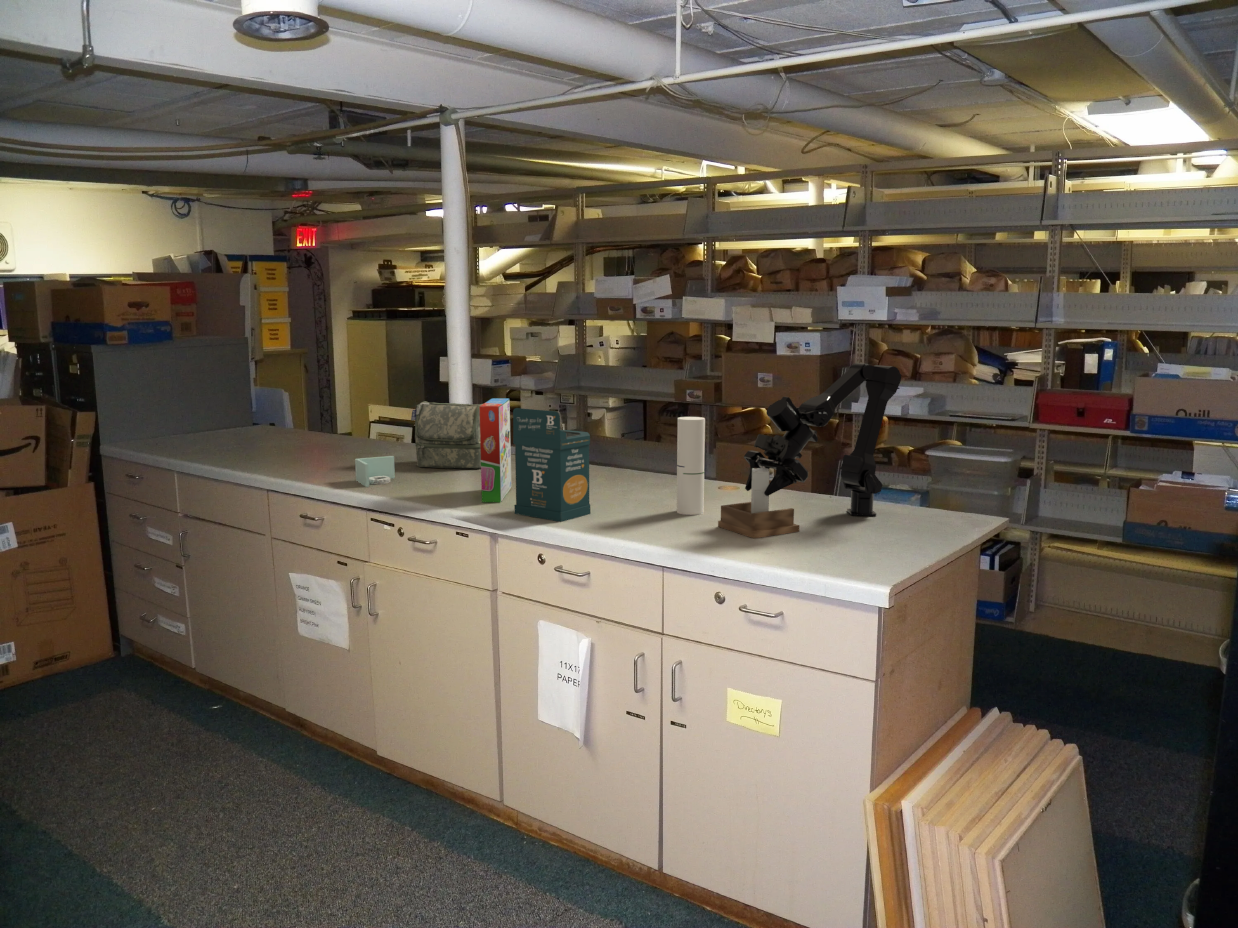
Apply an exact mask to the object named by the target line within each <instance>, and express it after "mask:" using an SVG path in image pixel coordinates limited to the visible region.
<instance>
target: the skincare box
mask: <svg viewBox="0 0 1238 928" xmlns="http://www.w3.org/2000/svg"><path fill="white" fill-rule="evenodd" d="M769 484H770V469H768V468H752V489H751V490H750V491H751V495H750V497H751V498H750V499H751V501H750V502H751V513H759V512H767V511H770V508H769V507H770V495H769V496H766V495H765V494H764V492H765V490H766V489H767V487H768V485H769Z"/></svg>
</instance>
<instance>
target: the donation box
mask: <svg viewBox="0 0 1238 928" xmlns="http://www.w3.org/2000/svg"><path fill="white" fill-rule="evenodd" d="M512 417H513V418H512V419H513V420H512V421H513V423H512V426H513V427H512V429H513V430H512V431H513V432H512V434H513V435H512V437H513V438H512V439H513V445H514V453H515V454H514V458H515V459H514V462H515V504H514V505H513V506H514V507H513V508H514V509H513V510H514V514H515V515H520V516H527V517H531V518H537V519H542V520H550V521H554V522H560V523H562V522H566V521H570V520H574V519H578V518H580V517H581V518H582V517H585V516H588V515H591V504H590V445H591V435H590V433H589V432H587V431H580V430H579V431H578V430H569V429H561V426H562V425H561V422H562V421H561V419H562V418H561V417H562V416H561V414H560V412H559V411H556V410H554V411H553V410H544V409H534V408H533V409H532V408H523V407H516V408H514V409H513V410H512Z"/></svg>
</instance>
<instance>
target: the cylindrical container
mask: <svg viewBox="0 0 1238 928" xmlns="http://www.w3.org/2000/svg"><path fill="white" fill-rule="evenodd" d="M676 432H677V439H676V441H677V443H676V444H677V445H676V446H677V447H676V449H677V451H676V453H677V454H676V459H677V460H676V513H677V514H680V515H684V516H695V515H696V516H697V515H701V514H702V515H703V514H704V513H705V512H704V510H705V507H704V506H705V499H704V498H705V454H706V453H705V451H706V450H705V449H706V448H705V442H706V441H705V439H706V418H705V417H701V416H680V417H677V431H676Z"/></svg>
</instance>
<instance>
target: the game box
mask: <svg viewBox="0 0 1238 928" xmlns="http://www.w3.org/2000/svg"><path fill="white" fill-rule="evenodd" d="M481 404H482V405H481V406H480V447H481V468H480V474H481V475H480V476H481V478H480V479H481V480H480V481H481V484H480V485H481V503H492V504H493V503H497V504H498V503H501V502H502V501H503V500H504V498H505V497H506V496H507V494H508V493H509V491H510V490H511V488H512V457H511V456H512V454H511V453H512V451H511V450H512V448H511V446H512V445H511V411H510V410H511V408H510V398H496V397H495V398H493V397H492V398H490V399H489V400H487V401H486V402H484V403H481Z"/></svg>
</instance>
